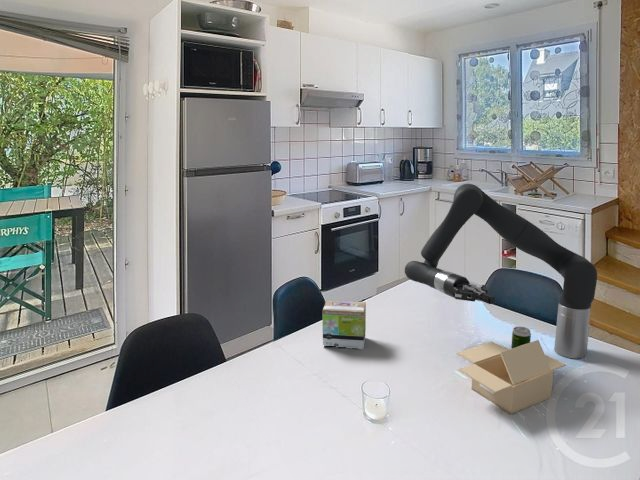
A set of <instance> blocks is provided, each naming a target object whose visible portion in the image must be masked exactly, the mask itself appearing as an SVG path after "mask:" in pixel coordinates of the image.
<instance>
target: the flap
mask: <svg viewBox="0 0 640 480" xmlns="http://www.w3.org/2000/svg"><path fill="white" fill-rule="evenodd" d="M500 354H501V357H502V359H503V362H504V364H505V367H506V369H507V372H508V374H509V377H510V379H511V382H512V385H514V384H516V383H519V382H521V381H524V380H527V379H529V378H532V377H534V376H537V375H539V374H542V373H544V372H547V371H550V370H551V368H550V366H549V363H548V361H547V359H546V356H545V355H546V354H545V352H544V349H543V347H542V345H541V343H540V341H539V339H536V340H533V341H530V343H527V344H524V345H521V346H518V347H515V348H512V349H511V348H510V349H508V350H506V351H503V352H500Z"/></svg>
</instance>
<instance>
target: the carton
mask: <svg viewBox="0 0 640 480" xmlns="http://www.w3.org/2000/svg"><path fill="white" fill-rule="evenodd" d="M506 350H509V349H508V348H507V347H504V346H502V345H501V344H498V343H496V342H494V341H489V342H486V343H483V344H480V345H479V344H478V345H477V346H473V347H470V348H467V349H464V350H460V351H457V352H456V355H457V356H459V357H462V358H463V359H465V360H467V361H468V362H470V363H472V364H469V365H466V366H463V367H460V368H458V371H459V372H461V373H462V374H464V375H465V376H467V377H468V378H470V379H471V390H472V391H474V392H475V393H477V394H478V395H480V396H481V397H483V398H485V399H487V400H488V401H489V402H491V403H492V404H494V405H496V406H498V407H499V408H501V409H502V410H504V411H506V412H507V413H508V414H510V415H514V414H515V413H518V412H520V411H523V410H525V409H528V408H530V407H532V406H534V405H537V404H539V403H542V402H543V401H545V400H548V399H550V398H552V391H553V390H552V389H553V382H554V371H556V370H558V369H560V368H563V367H565V366H566V365H567V364H566V363H564V362H562V361H560V360H558V359H555V358H553V357H551V356H549V355H546V354H545V356H546V359H547V361H548V363H549V366H550V368H551V370H550V371H547V372H544V373H542V374H539V375H537V376H534V377H532V378H529V379H527V380H524V381H521V382H519V383H516V384H514V385H512V382H511V379H510V377H509V374H508V372H507V369H506V367H505V364H504V362H503V359H502V357H501V354H500V352H503V351H506Z"/></svg>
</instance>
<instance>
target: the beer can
mask: <svg viewBox="0 0 640 480" xmlns="http://www.w3.org/2000/svg"><path fill="white" fill-rule="evenodd" d="M512 329H513V330H512V332H511V333H512V334H511V346H510V347H511V348H510V349H512V348H515V347H518V346H521V345H524V344H527V343H530V342H531V337H532V332H531V330H530V328H527V327H525V326H515V327H513V328H512Z"/></svg>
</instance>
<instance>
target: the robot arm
mask: <svg viewBox="0 0 640 480" xmlns="http://www.w3.org/2000/svg"><path fill="white" fill-rule="evenodd" d="M452 200H453V201H452V203H451V206H450V208H449V210H448V212H447V214H446V216H445V217H444V219H443V220H442V222H441V223H440V224H439V226H438V227H437V228H436V229H435V230H434V232H433V233H432V234H431V236H430V237H429V238H428V240H427V241H426V243H425V244H424V246H423V248H422V249H421V252H420V254H421V257H422V258H423V259H424V261H423V262H421V261H418V260H411V261H409V262H408V263H406V265H405V266H404V274H405V276H406V277H407V278H408V279H409V280H411V281H413V282H415V283H419V284H423V285H426V286H428V287H430V288H431V289H432V288H433V289H434V290H437V291H439V292H441V293H442V294H445V295H447V296H449V297H451V298H453V299H455V300H459V301H466V302H467V301H468V302H476V301H477V302H483V303H486V304H488V305H492V304H495V296H494V295H491V294H489V289H488V287H487V285H485V284H482V285H481V286H477V285H476V284H474V283H470V281H469V279H468V278H467V277H466V276H463V275H460V274H458V273H454V272H452V271H447V270H444V269H442V268H439V267H438V265H439V262H440V260H441V258H442V257H443V255H444V253H446V250H447V249H448V248H449V247H450V244H451V243H452V242H453V240H454V238H455V237H456V235H457V234H458V233H459V231H460V230H461V229H462V228H463V226H464V225H465V224H466V223H467V222H468V221H469V220H470V219H471V218H472V217H473V216H474V215H475V216H476V217H478V218H480V219H481V220H483V221H484V222H486V223H487V224H488V225H489V226H490V227H491V228H492V229H493V231H494V232H496V234H498V235H499V236H500V237H501V238H503V240H505V241H506V242H507V243H509V244H511V245H512V246H514V247H515V248H517V249H518V250H520V252H521V251H522V252H523V253H525V254H528V255H529V256H532V257H534V258H536V259H540V260H541V261H542V262H544V263H545V264H547V265H548V266H550V267H551V268H552V269H553V270H555V271H556V272H557V273H558V274H559V275H561V277H562V278H563V286H562V292H561V293H560V294H559V297H558V305H557V306H558V307H557V317H556V327H555V338H554V346H553V350H554V352H555V353H556V354H557V355H559V356H561V357H564V358H569V359H583V358H585V357H586V354H587V352H588V345H589V344H588V343H589V335H590V319H591V318H590V316H591V308H592V303H593V302H594V299H595V296H596V289H597V283H598V281H597V280H598V270H597V268H596V266H595V265H594V264H593V263H592V262H591V261H590V260H588V259H587V258H586V257H584V256H582V255H579V254H578V253H576V252H574V251H572V250H570V249H568V248H566V247H564V246H562V245H560V244H559V243H558V242H557V241H556V240H554V239H553V238H552V237H550V235H548V234H547V233H546V232H544V231H543V230H542V229H541V228H539V227H538V226H537V225H535V224H534V223H532V222H530V221H529V220H528V219H526V218H525V217H522V216H521V215H519V214H518V213H516V212H514V211H513V210H511V209H509V208H507V207H505V206H503V205H501V204H500V203H498V202H497V201H496V200H494V199H493V198H492V197H491V196H489V195H488V194H487V193H486V192H485V191H483V190H482V189H481V188H480V187H479V186H478V185H475V184H472V183H464V184H461V185H459V186H458V187H457V188H456V189H455V191H454V195H453V199H452Z"/></svg>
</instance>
